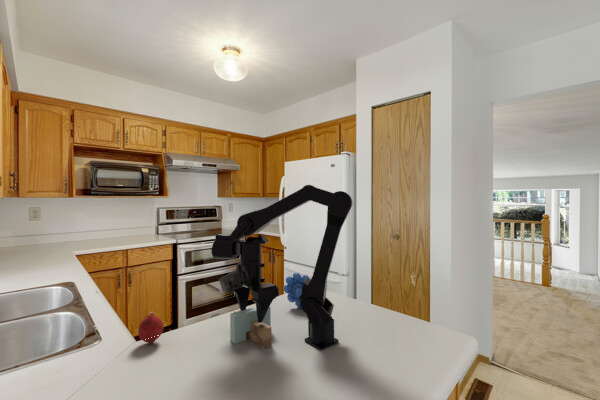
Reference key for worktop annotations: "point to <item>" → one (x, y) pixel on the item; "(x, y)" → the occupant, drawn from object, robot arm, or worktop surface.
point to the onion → (150, 328)
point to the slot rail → (260, 333)
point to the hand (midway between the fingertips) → (251, 317)
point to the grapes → (295, 288)
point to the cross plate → (245, 323)
